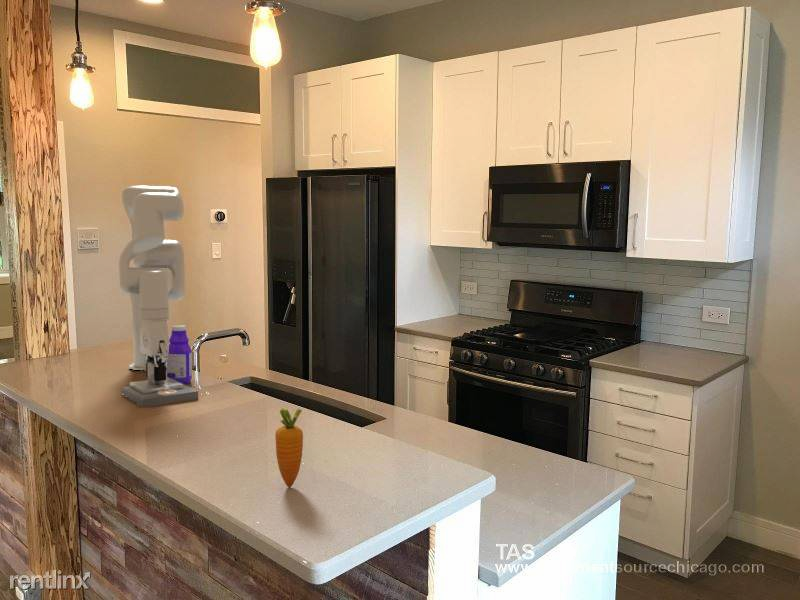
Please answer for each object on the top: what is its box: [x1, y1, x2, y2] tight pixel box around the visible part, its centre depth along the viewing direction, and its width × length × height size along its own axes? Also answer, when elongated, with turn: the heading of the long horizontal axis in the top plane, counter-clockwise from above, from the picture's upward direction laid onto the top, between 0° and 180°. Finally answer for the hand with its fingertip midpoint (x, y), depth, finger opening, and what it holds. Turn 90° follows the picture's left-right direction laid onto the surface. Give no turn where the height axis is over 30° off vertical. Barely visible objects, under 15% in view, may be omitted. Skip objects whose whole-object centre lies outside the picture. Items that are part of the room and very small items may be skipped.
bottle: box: [166, 324, 193, 385], centre depth 202 cm, size 7×6×17 cm
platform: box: [129, 376, 183, 394], centre depth 187 cm, size 11×11×1 cm
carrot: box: [275, 407, 304, 488], centre depth 122 cm, size 5×5×15 cm
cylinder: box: [147, 361, 165, 385], centre depth 187 cm, size 4×4×6 cm
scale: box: [121, 380, 199, 409], centre depth 186 cm, size 17×15×3 cm
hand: (156, 377), depth 187 cm, fingers open, 5 cm apart
